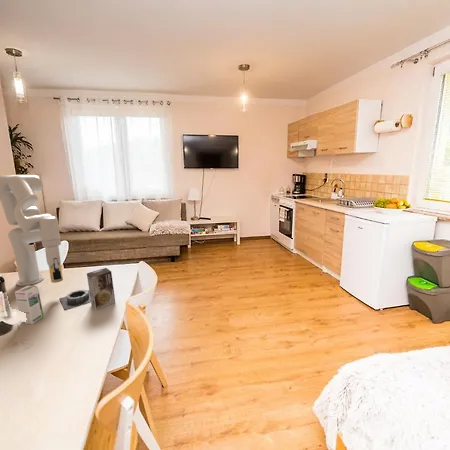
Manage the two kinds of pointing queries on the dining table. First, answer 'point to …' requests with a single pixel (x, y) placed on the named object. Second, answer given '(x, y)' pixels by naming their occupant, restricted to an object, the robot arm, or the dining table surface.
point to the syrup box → (29, 303)
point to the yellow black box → (52, 275)
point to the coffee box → (101, 288)
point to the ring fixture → (75, 299)
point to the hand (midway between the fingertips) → (56, 276)
